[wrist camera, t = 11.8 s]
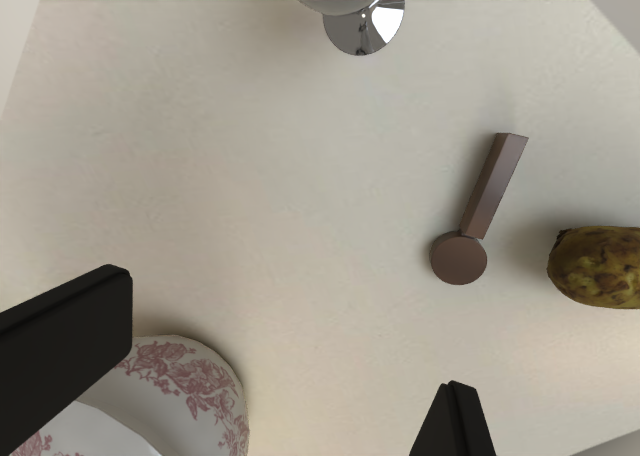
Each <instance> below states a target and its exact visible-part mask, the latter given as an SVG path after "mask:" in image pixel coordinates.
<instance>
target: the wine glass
mask: <svg viewBox="0 0 640 456" xmlns="http://www.w3.org/2000/svg"><path fill="white" fill-rule="evenodd" d="M297 1H299V2H300V3H302V4H304V5H305V6H307V7H308V8H310V9H312V10H314V11H316V12H319V13H322V14H323V20H324V26H325V29H326V32H327V34H328V36H329V38H330V40H331V41H332V42H333V44H334V45H335V46H336V47H338V48H339V49H340V50H342V51H343V52H345V53H348V54H351V55H358V56H359V55H367V54H371V53H374V52H376V51H378V50H379V49H381V48H382V47H384V46H385V45H386V44H387V43H388V42H389V41H390V40H391V39H392V38H393V36H394V35H395V34H396V32H397V30H398V28H399V26H400V24H401V21H402V18H403V13H404V4H405V1H404V0H297Z"/></svg>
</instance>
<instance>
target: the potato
mask: <svg viewBox="0 0 640 456" xmlns="http://www.w3.org/2000/svg"><path fill="white" fill-rule="evenodd" d="M559 233H560V234H559V235H558V236H557V241H556V243H555V244H554V247H553V249H552V251H551V253H550V255H549V260H548V266H547V273H548V277H549V278H550V279H551V281H552V282H553V284H554V285H555V286H556V287H557V288H558V289H559V290H560V291H561V292H562V293H563V294H564V295H565V296H567V297H569V298H570V299H572V300H574V301H576V302H579V303H582V304H585V305H590V306H596V307H605V308H613V309H640V228H637V227H614V226H588V227H581V228H575V229H572V228H570V229H566V230H560V231H559Z"/></svg>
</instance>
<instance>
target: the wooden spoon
mask: <svg viewBox="0 0 640 456" xmlns="http://www.w3.org/2000/svg"><path fill="white" fill-rule="evenodd" d="M528 139H529V138H528V137H524V136H519V135H515V134H511V133H497V135H496V137H495V140H494V142H493V145H492V147H491V149H490V152H489V154H488V157H487V159H486V161H485V164H484V166H483V169H482V171H481V173H480V176H479V178H478V181H477V183H476V185H475V188H474V190H473V193H472V195H471V197H470V200H469V202H468V205H467V207H466V209H465V212H464V214H463V217H462V219H461V222H460V224H459V226H460V229H459V232H458V231H455V232H449V233H446V234H443V235H442V236H440V237H439V238H437V239H436V240H435V242H434V243H433V244H432V246H431V249H430V253H429V257H430V262H431V266H432V269H433V271H434V273H435V274H436V276H437V277H438V278H439V279H441V280H442V281H444V282H446V283H449V284H453V285H464V284H468V283H471V282H473V281H475V280H476V279H478V278H479V277H480V276H481V275H482V274H483V272H484V270H485V268H486V265H487V256H486V252H485V250H484V249H483V247H482V246H481V244H480V243H479V242H478V241H477V239H476V238H478V239H482V240H483V238H484V236H485V234H486V232H487V229H488V227H489V225H490V223H491V221H492V218H493V216H494V214H495V212H496V209H497V207H498V205H499V203H500V201H501V198H502V196H503V194H504V192H505V190H506V187H507V185H508V183H509V181H510V178H511V176H512V174H513V172H514V170H515V167H516V165H517V163H518V161H519V159H520V156H521V154H522V152H523V150H524V147H525V145H526V143H527V141H528ZM474 237H475V238H474Z"/></svg>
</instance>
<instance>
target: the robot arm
mask: <svg viewBox="0 0 640 456" xmlns="http://www.w3.org/2000/svg"><path fill="white" fill-rule="evenodd" d="M132 307H133V280H132V277H131V276H130V273H129V271H128V270H126V269H123V268H120V267H117V266H115V265H112V264H106V265H103V266H101V267H99V268H97V269H94V270H92V271H90V272H88V273H86V274H84V275H81V276H79V277H77V278H75V279H73V280H71V281H68V282H66V283H64V284H62V285H60V286H58V287H55V288H53V289H51V290H49V291H47V292H45V293H42V294H40V295H38V296H36V297H34V298H32V299H29V300H27V301H25V302H23V303H21V304H19V305H16V306H14V307H12V308H10V309H8V310H6V311H3V312H1V313H0V456H9V455H10V454H11V453H12V452H14V451H15V450H16V449H17V448H18V447H20V446H21V445H22V444H23V443H24V442H26V441H27V440H28V439H29V438H30V437H31V436H33V435H34V434H35V433H36V432H37V431H39V430H40V429H41V428H42V427H43V426H45V425H46V424H47V423H48V422H49V421H51V420H52V419H53V418H54V417H55V416H57V415H58V414H59V413H60V412H61V411H63V410H64V409H65V408H66V407H67V406H69V405H70V404H71V403H72V402H73V401H74V400H76V399H77V398H78V397H79V396H80V395H82V394H83V393H84V392H85V391H86V390H88V389H89V388H90V387H91V386H92V385H94V384H95V383H96V382H97V381H98V380H100V379H101V378H102V377H103V376H104V375H106V374H107V373H108V372H109V371H110V370H111V369H113V368H114V367H115V366H116V365H117V364H119V363H120V362H121V361H122V360H123V359H125V358H126V357H127V356H128V354H129V353H130V351H131V349H132ZM409 456H496V453H495V450H494V447H493V443H492V440H491V437H490V433H489V430H488V427H487V423H486V420H485V417H484V413H483V410H482V407H481V403H480V400H479V397H478V393H477V391H476V389H475V388H474V387H471V386H468V385H465V384H462V383H459V382H456V381H453V380H451V381H450V382H449V383H448V385H447V384H444V383H442V384H441V385H440V387H439V389H438V391H437V394H436V396H435V398H434V400H433V402H432V405H431V407H430V409H429V411H428V414H427V416H426V418H425V420H424V422H423V425H422V427H421V429H420V431H419V433H418V436H417V438H416V440H415V442H414V444H413V447H412V449H411V451H410V454H409Z"/></svg>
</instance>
